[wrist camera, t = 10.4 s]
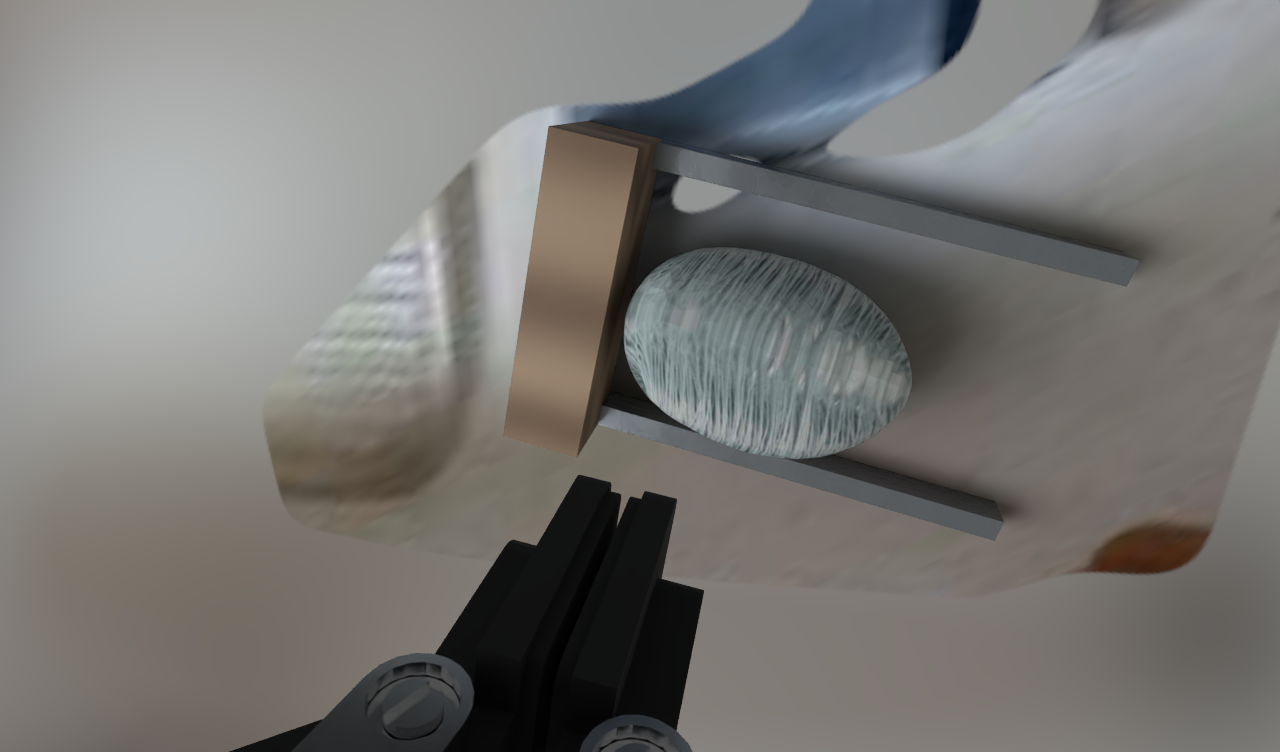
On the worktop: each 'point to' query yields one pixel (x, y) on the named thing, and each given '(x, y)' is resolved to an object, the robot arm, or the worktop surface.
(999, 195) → the worktop surface
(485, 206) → the worktop surface
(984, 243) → the guide rails
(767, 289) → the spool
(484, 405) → the worktop surface
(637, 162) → the end stop
